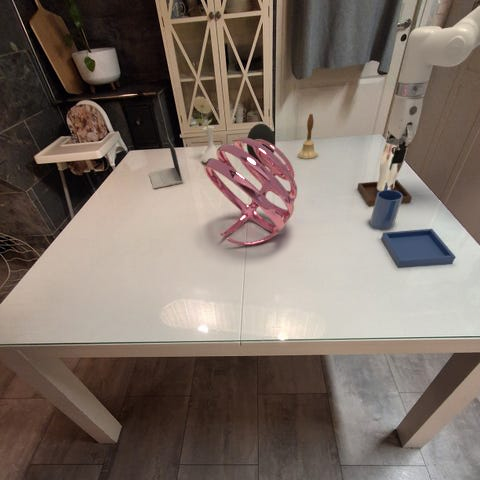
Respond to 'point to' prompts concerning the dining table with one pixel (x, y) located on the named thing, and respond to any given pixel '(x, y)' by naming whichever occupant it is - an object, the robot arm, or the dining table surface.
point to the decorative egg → (260, 133)
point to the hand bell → (308, 142)
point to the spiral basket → (257, 196)
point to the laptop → (167, 173)
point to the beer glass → (388, 166)
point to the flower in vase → (206, 128)
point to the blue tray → (417, 248)
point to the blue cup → (386, 209)
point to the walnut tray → (370, 194)
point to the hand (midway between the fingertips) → (392, 158)
